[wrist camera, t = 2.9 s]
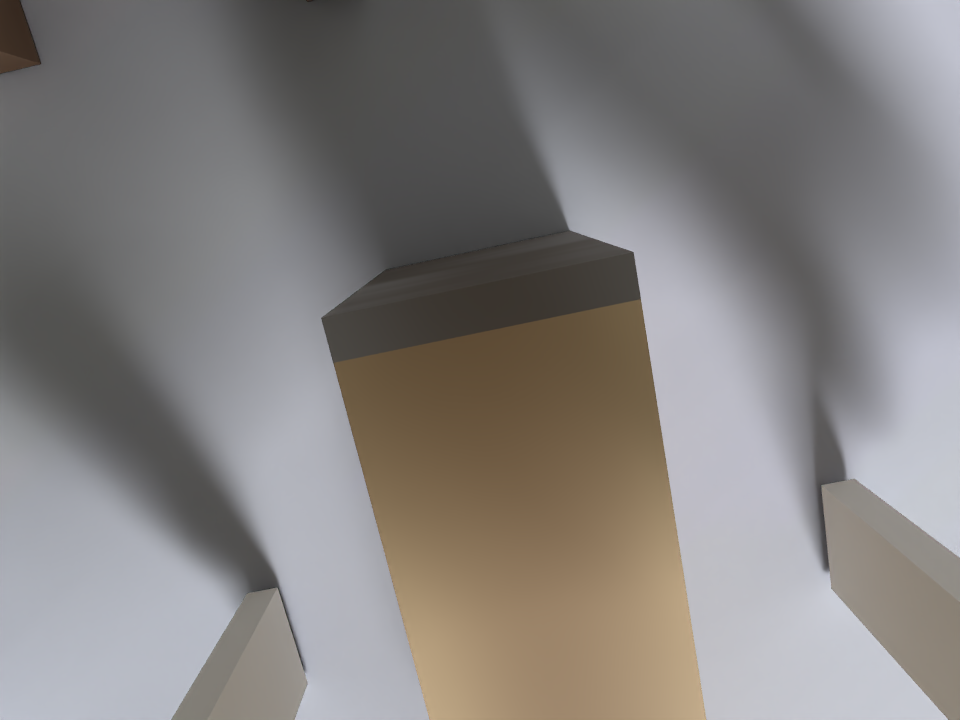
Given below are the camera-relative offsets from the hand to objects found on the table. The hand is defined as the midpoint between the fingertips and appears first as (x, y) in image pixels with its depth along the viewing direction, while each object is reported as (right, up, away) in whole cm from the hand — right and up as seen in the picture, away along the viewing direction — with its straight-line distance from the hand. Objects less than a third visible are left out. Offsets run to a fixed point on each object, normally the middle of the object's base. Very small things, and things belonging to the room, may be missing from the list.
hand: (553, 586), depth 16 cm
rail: (0, 0, 0) cm, 0 cm away
